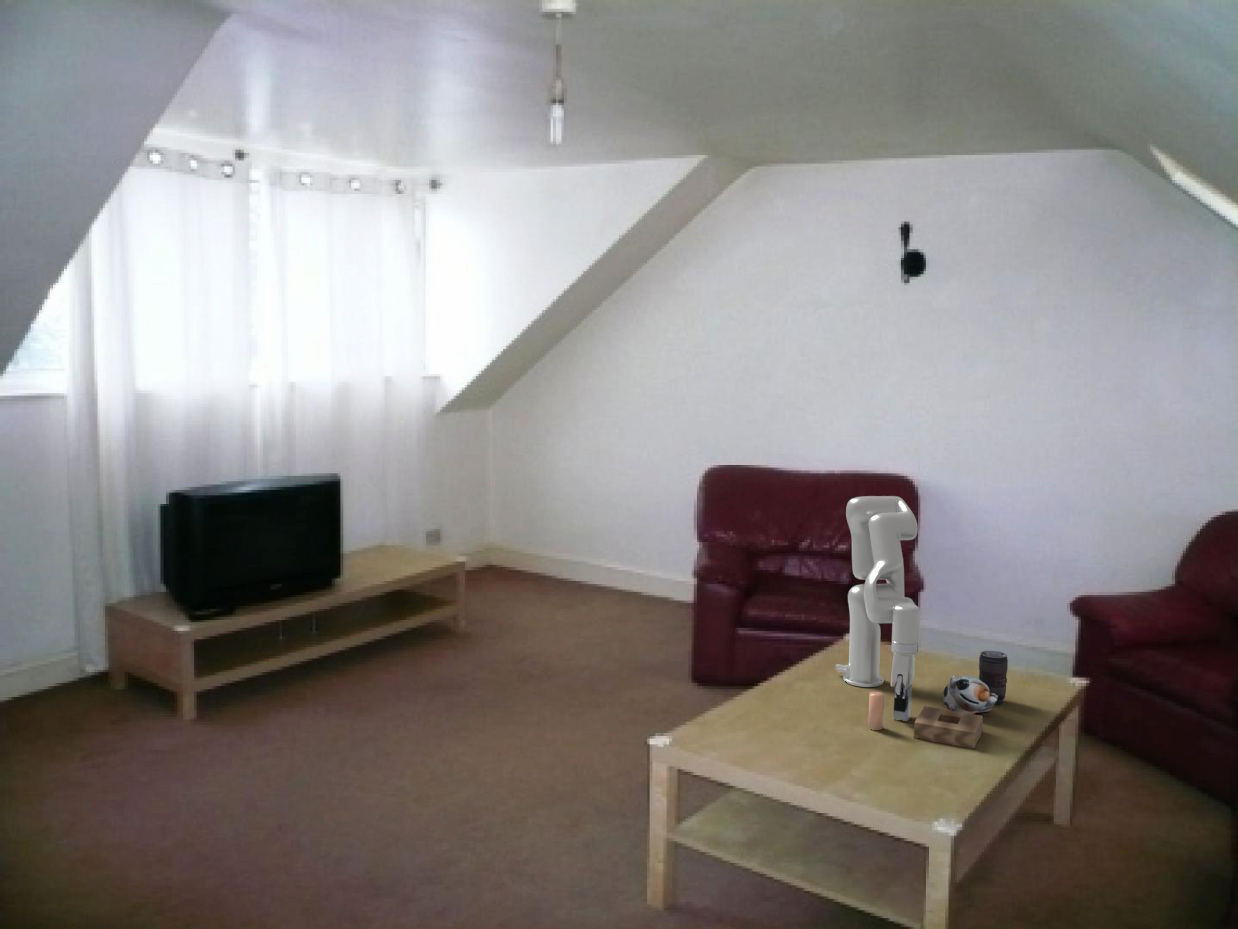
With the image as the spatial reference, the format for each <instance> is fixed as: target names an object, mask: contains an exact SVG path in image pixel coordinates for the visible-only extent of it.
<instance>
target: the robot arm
mask: <svg viewBox="0 0 1238 929" xmlns="http://www.w3.org/2000/svg"><path fill="white" fill-rule="evenodd" d="M845 510H846V511H845V516H846V521H847V525H848V528H849V531H850V535H851V564H852V568H851V569H852V574H853V575H854V577H855V578H856V579H857V580H864V581H865V582H864V583H861V584H856V585H854V586H852V587H851V588H850V589H849V591H848V593H847V603H848V609H849V610H848V611H849V643H848V646H849V648H848V664H845V665H844V664H841V663H840V664H838V663H836V664H835V671H836V672H838V673H843V675H842V676H843V677H842V678H843V679H842V680H843V681H844V682H845V681H846V682H847V684H849V685H851V686H854V687H861V688H875V687H880V686H882V685H883V684H884V683H885V682H884V680H885V679H884V677H883V676H881V675H880V657H881V656H880V655H881V654H880V653H881V626H880V624H892V625H891V648H890V652H892V653H893V658H892V663H891V664H892V665H891V675H890V676H891V677H890V687H892V688H894V693H895V698H893V711H894V710H895V711H900V712H905V711H906V698H905V694H906V689H907V688H908V687H909V686H910V685H911V684H912V683H913V682H914V678H915V663H916V660H915V658H916V656H917V655H919V648H920V647H919V646H920V645H919V644H920V627H921V624H920V623H921V622H920V621H921V609H920V607H919V606H918V605H916V603H915V601H913V599H912V598H910V597H906V596H905V568H904V567H905V566H904V557H903V552H902V551H903V550H902V544H901V541H911V540H914V539H915V538H916V537H917V535H918V530H919V529H918V528H919V526H918V522H917V519H916V516H915V514H914V513H913V511H912V510H911V508H910V507H909V506H908V504H907V503H906V501H905V500H904V499H903V498H901V497H900V496H896V495H888V496H887V495H881V496H880V495H879V496H876V495H867V496H865V495H864V496H856V497H853V498H851V499H850V500H848V502H847V504H846V508H845ZM880 580H885V581H886V583H877V582H878V581H880ZM846 682H845V683H846ZM895 685H896V689H895ZM902 685H903V686H904V687H901V686H902ZM901 689H902V690H903V692H902V691H901Z"/></svg>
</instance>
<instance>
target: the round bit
mask: <svg viewBox="0 0 1238 929" xmlns="http://www.w3.org/2000/svg"><path fill="white" fill-rule="evenodd" d="M868 694H869V696H868V698H869V699H868V720H867V722H868V723H867V727H869V728H871V729H874V730H881V729H884V711H885V710H884V709H885V708H884V706H885V705H884V704H885V702H884V701H885V694H884V693H882V692H880V691H870V692H869V693H868ZM869 728H868V729H869ZM881 731H882V730H881Z"/></svg>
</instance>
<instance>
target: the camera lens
mask: <svg viewBox="0 0 1238 929" xmlns="http://www.w3.org/2000/svg"><path fill="white" fill-rule="evenodd" d="M978 658H979V659H978V670H979V675H978V679H979V680H981V681H982V682H983V683H985V684H986V685H987V686H988V688H989V690H990V693H995V694H996V695H998V700H997V701H996V702H995V704H994V705H998V706H1001V705H1003V704H1004V700H1005V698H1006V694H1007V684H1008V678H1007V673H1008V665H1009V664H1008V662H1009V659H1008V654H1007V653H1004V652H1002V651H997V650H983V651H981V652H980V655H979V657H978Z"/></svg>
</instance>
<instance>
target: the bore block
mask: <svg viewBox="0 0 1238 929" xmlns="http://www.w3.org/2000/svg"><path fill="white" fill-rule="evenodd" d="M983 718H984V715H980V714H976V713H974V714H969V713H963V712H957V711H951V710H949V709H945V708H944V709H943V708H939V707H931V706H926V705H925V706H923V707H922V709H921V711H920V712H919V714H918V715H917V717H916V719H915V721H914V722H913V723H914V725H913V727H914V728H913V738H914V737H917V738H921V739H920V740H923V739H926V740H925V741H928V740H930V741H929V742H935V743H939V742H943V743H942V744H945V743H947V744H946V745H950V744H952V745H951V746H956V745H957V746H956V747H961V746H962V747H963V748H968V749H972V748H976V746H977V743H978V742H979V739H980V738H981V735H982V732H983V720H984V719H983ZM917 738H916V739H917Z"/></svg>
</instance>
